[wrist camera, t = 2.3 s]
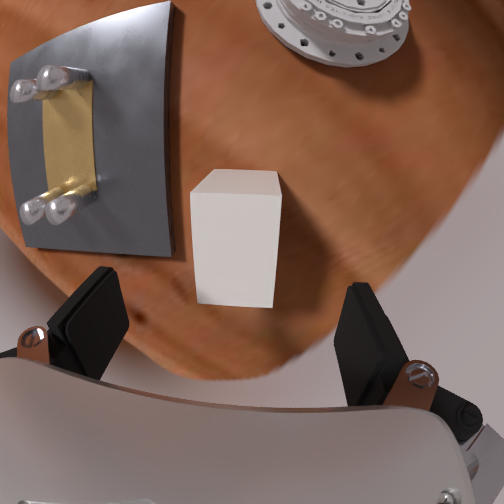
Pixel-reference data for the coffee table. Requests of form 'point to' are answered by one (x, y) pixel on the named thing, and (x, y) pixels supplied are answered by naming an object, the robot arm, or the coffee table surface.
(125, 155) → the base plate
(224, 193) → the jaw block
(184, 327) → the coffee table surface
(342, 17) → the mechanical component
